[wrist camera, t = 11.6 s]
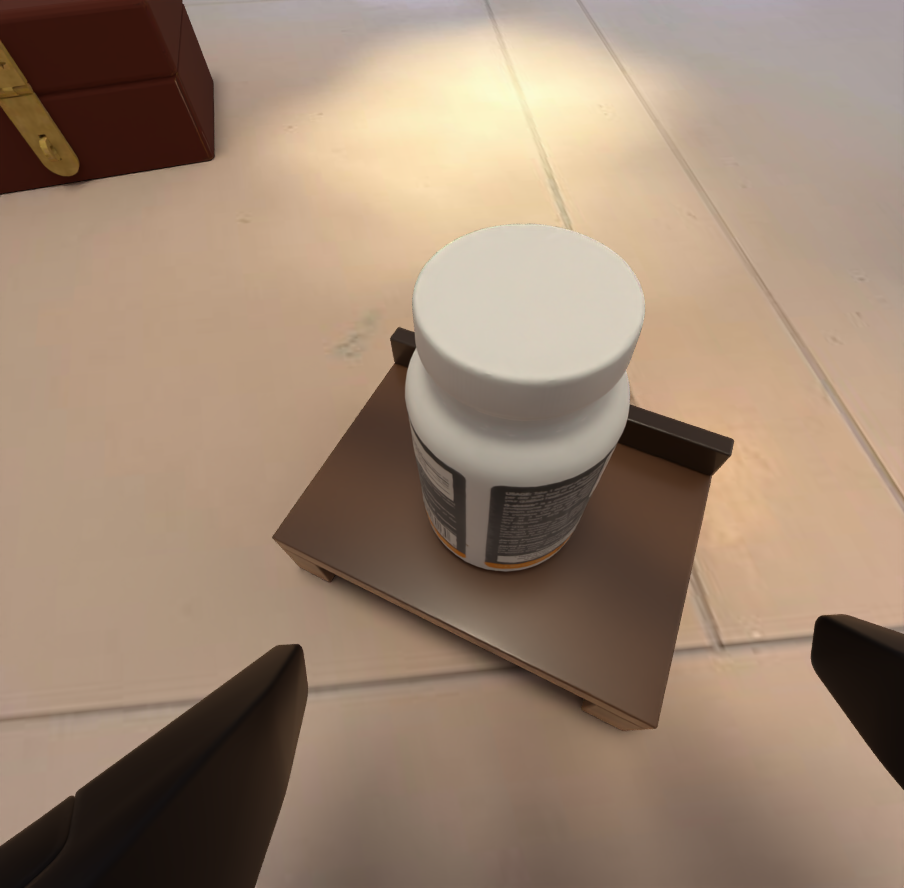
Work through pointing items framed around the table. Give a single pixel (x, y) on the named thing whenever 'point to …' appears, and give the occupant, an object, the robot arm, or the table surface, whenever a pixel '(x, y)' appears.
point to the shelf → (535, 588)
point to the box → (99, 90)
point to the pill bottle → (518, 386)
